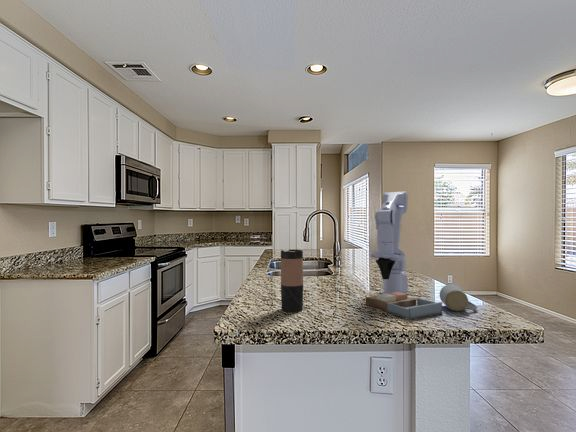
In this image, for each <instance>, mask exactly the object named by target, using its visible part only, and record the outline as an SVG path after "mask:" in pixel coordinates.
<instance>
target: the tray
mask: <svg viewBox="0 0 576 432" xmlns="http://www.w3.org/2000/svg"><path fill="white" fill-rule="evenodd" d="M386 312H387V313H389V314H391V313H392V315H394V314H395V315H394V316H397V315H398V316H397V317H400V316H401V318H403V317H404V319H406V318H407V320H409V319H412V320H417V319H421V318H426V317H429V316H430V315H431V316H435V314H436V315H440V313H441V314H443V302H442V301H439V302H436V301H432V300H427V299H424V298H419V297H417V298H416V305H414V306H409V307H401V306H398V305H394V304H391V303H387V311H386ZM431 316H430V317H431ZM416 318H417V319H416Z"/></svg>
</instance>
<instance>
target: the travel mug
mask: <svg viewBox="0 0 576 432" xmlns="http://www.w3.org/2000/svg"><path fill="white" fill-rule="evenodd" d="M303 253H304V251H303V249H289V250H288V251H287V250H286V251H285V250H284V249H283V250H282V249H281V250H280V298H281V299H280V301H281V302H280V303H281V310H282V311H283V312H284V313H298V312H299V313H300V312H302V311H303V309H304V306H303V305H304V254H303Z"/></svg>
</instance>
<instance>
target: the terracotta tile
mask: <svg viewBox="0 0 576 432" xmlns="http://www.w3.org/2000/svg"><path fill="white" fill-rule="evenodd" d="M388 294H391V295H395V296H396V300H402V299H407V297H408V294H405V293H401V292H391V293H388Z"/></svg>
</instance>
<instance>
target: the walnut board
mask: <svg viewBox="0 0 576 432" xmlns="http://www.w3.org/2000/svg"><path fill="white" fill-rule="evenodd" d="M387 303H391V304H394V305H398V306H401V307H409V306H414V305H417V298H412V297H409V296H407V299H402V300H396V301H390V302H384V301H381V300H378V299H377V295H371V296H370V295H369V296H366V297H365V305H368V306H371V307H373V308H377V309H379V310H382V311H385V312H387Z"/></svg>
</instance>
